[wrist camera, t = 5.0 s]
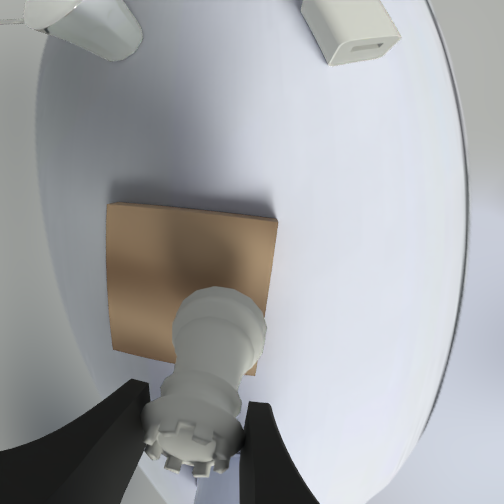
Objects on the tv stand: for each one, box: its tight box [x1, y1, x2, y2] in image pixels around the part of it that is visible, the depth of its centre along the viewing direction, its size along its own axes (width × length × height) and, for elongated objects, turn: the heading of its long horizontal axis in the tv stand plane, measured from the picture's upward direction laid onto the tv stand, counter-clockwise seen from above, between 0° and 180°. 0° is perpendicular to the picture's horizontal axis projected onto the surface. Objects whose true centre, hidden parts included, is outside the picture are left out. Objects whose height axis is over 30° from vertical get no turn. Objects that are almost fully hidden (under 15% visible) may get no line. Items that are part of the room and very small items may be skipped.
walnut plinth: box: [106, 202, 278, 376], centre depth 17 cm, size 10×10×2 cm
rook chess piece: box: [140, 286, 267, 477], centre depth 10 cm, size 4×4×8 cm
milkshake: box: [0, 0, 143, 62], centre depth 10 cm, size 4×5×10 cm
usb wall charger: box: [301, 0, 402, 66], centre depth 12 cm, size 4×7×4 cm, turn 20°
